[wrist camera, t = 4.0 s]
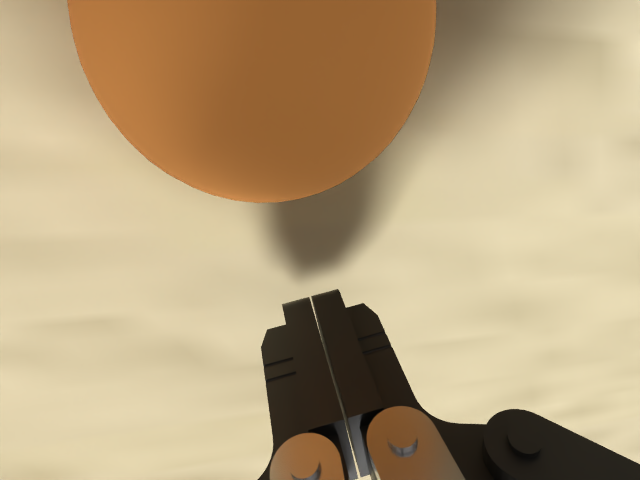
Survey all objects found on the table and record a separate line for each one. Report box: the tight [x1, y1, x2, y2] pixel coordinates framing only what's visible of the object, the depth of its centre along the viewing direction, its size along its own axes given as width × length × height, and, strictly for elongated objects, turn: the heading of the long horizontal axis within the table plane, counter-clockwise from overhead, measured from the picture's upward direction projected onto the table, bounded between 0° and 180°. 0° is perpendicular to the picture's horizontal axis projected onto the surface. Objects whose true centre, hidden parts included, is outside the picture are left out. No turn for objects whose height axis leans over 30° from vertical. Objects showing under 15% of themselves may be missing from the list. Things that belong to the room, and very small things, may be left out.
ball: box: [67, 0, 436, 203], centre depth 6 cm, size 5×5×5 cm
